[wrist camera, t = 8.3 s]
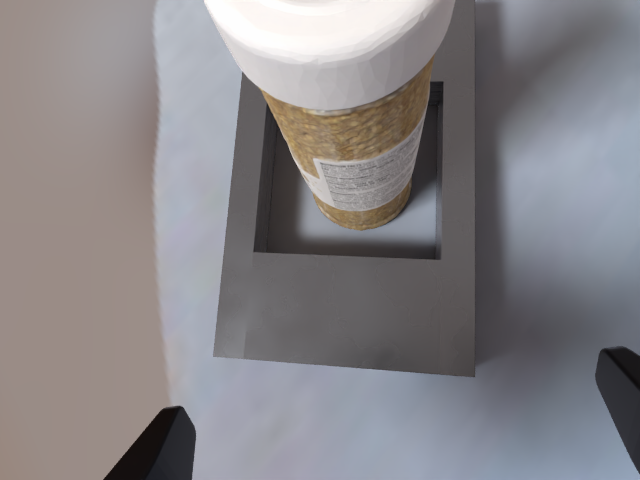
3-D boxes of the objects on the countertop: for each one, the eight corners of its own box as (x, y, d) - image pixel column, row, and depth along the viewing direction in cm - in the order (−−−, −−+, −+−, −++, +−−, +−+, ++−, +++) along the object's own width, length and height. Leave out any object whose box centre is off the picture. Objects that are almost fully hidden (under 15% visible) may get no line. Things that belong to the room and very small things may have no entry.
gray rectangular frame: (465, 371, 18) (475, 377, 16) (230, 353, 19) (213, 356, 17) (466, 21, 21) (474, -11, 19) (261, 28, 22) (249, 0, 20)
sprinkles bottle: (308, 145, 21) (181, -161, 8) (406, 130, 20) (447, -225, 7) (317, 240, 20) (190, 75, 7) (420, 227, 19) (497, 22, 6)
